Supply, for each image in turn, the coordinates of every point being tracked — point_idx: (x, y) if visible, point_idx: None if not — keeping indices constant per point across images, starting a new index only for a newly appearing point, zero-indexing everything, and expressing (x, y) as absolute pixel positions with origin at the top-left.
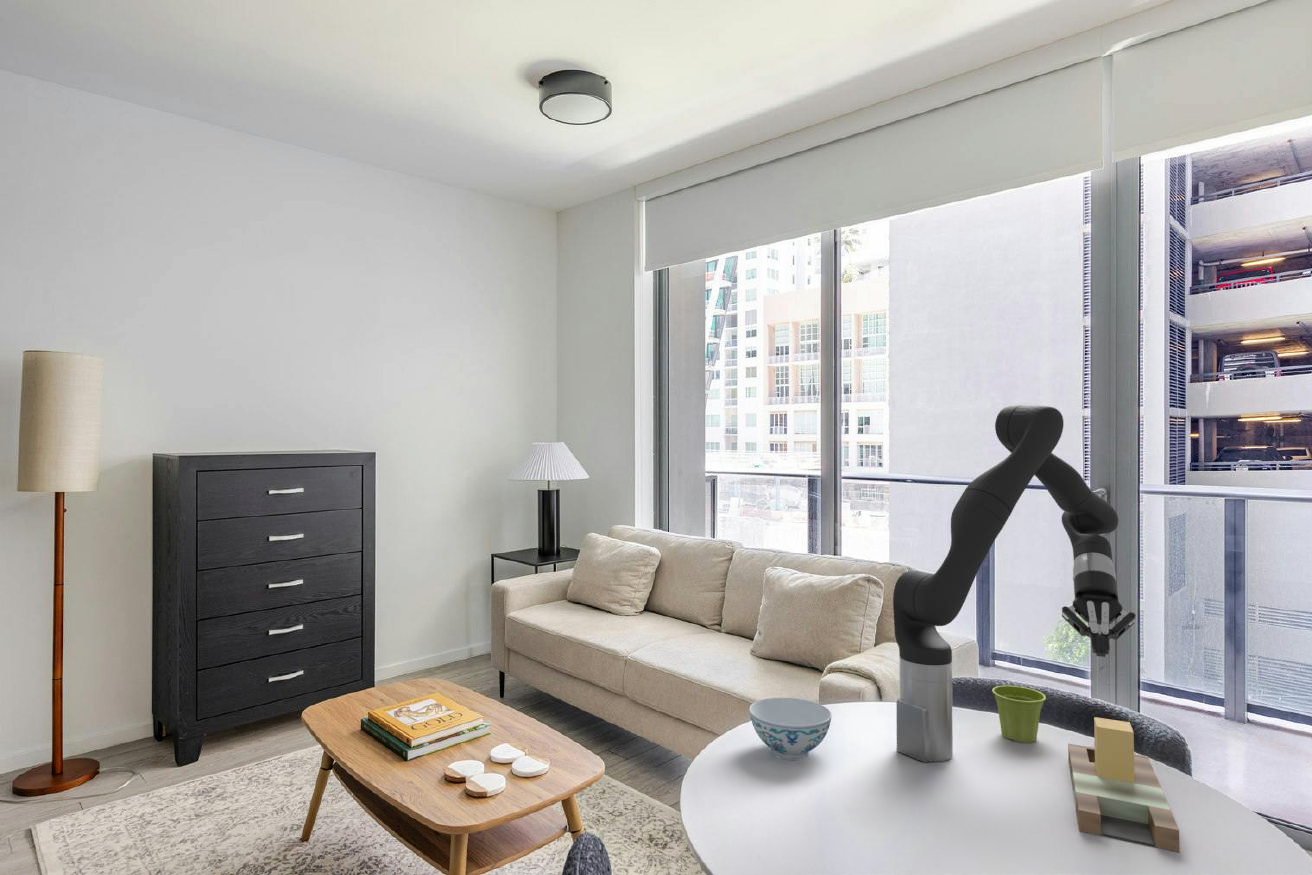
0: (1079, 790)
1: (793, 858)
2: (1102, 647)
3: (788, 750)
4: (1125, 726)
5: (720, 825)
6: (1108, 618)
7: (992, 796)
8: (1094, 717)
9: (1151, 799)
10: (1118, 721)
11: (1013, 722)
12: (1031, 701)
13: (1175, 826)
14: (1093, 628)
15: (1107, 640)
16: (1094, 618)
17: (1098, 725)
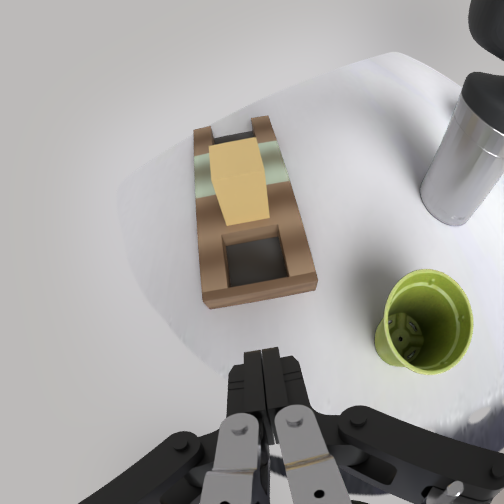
0: (274, 144)
1: (379, 58)
2: (256, 357)
3: None
4: (218, 160)
5: (421, 67)
6: (204, 496)
7: (348, 143)
8: (263, 168)
9: (208, 165)
10: (227, 173)
11: (410, 299)
12: (398, 282)
13: (195, 133)
14: (302, 427)
15: (233, 403)
16: (302, 477)
17: (254, 141)
